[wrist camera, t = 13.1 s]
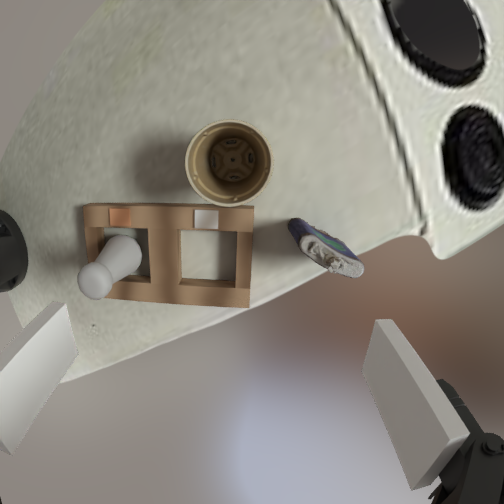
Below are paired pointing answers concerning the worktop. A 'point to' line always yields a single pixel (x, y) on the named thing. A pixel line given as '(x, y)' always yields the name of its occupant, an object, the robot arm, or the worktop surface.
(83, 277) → the salt shaker
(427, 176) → the worktop surface
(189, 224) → the socket board
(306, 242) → the flask
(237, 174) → the flower pot
